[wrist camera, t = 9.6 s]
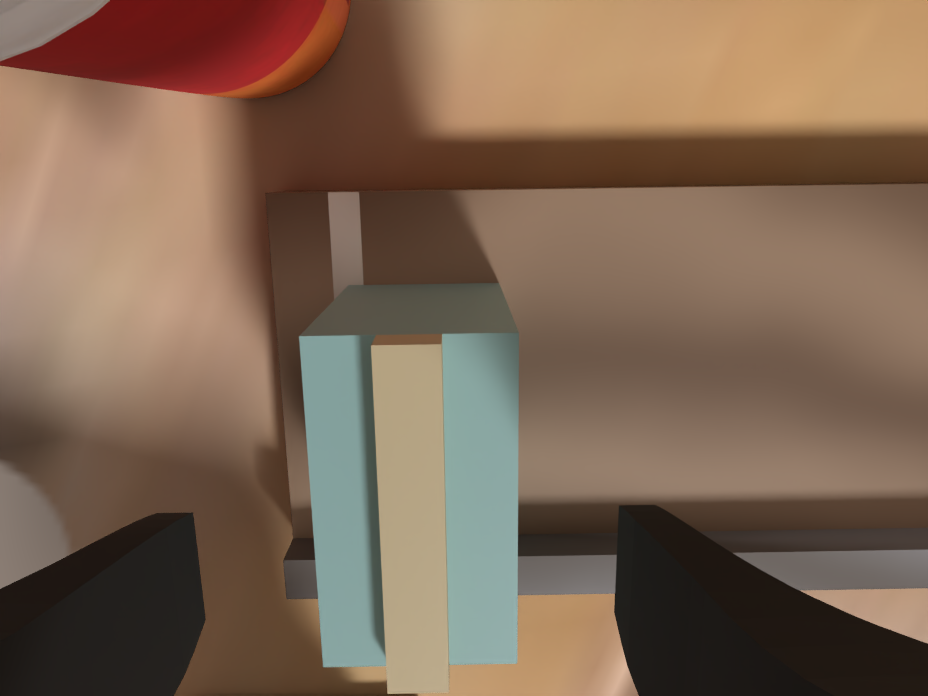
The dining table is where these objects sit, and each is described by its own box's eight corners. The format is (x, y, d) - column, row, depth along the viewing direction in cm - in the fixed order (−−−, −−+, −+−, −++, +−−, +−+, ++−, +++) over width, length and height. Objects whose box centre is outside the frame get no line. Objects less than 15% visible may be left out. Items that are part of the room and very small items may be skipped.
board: (1031, 536, 22) (1109, 584, 20) (306, 548, 22) (286, 599, 19) (1104, 180, 20) (1204, 180, 17) (279, 192, 19) (251, 194, 17)
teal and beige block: (499, 522, 20) (520, 691, 14) (361, 525, 20) (315, 695, 14) (499, 283, 19) (523, 342, 12) (348, 285, 19) (288, 346, 12)
